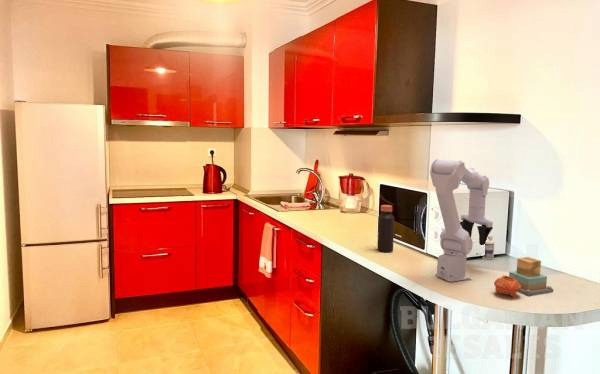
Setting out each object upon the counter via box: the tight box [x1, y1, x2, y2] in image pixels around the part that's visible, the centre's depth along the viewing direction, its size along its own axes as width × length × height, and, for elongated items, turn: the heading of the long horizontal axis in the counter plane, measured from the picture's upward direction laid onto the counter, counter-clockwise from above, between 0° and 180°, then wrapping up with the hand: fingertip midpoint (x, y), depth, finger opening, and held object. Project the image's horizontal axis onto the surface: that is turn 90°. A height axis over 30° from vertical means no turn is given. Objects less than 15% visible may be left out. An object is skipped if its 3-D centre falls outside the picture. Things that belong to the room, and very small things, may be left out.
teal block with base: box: [508, 270, 554, 297], centre depth 153 cm, size 11×11×5 cm
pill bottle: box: [481, 235, 495, 260], centre depth 189 cm, size 5×5×10 cm
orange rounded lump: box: [493, 275, 521, 299], centre depth 147 cm, size 8×8×7 cm
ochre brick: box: [516, 256, 542, 277], centre depth 152 cm, size 5×5×5 cm
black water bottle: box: [377, 204, 395, 253], centre depth 198 cm, size 7×7×20 cm
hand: (474, 242), depth 174 cm, fingers open, 7 cm apart
